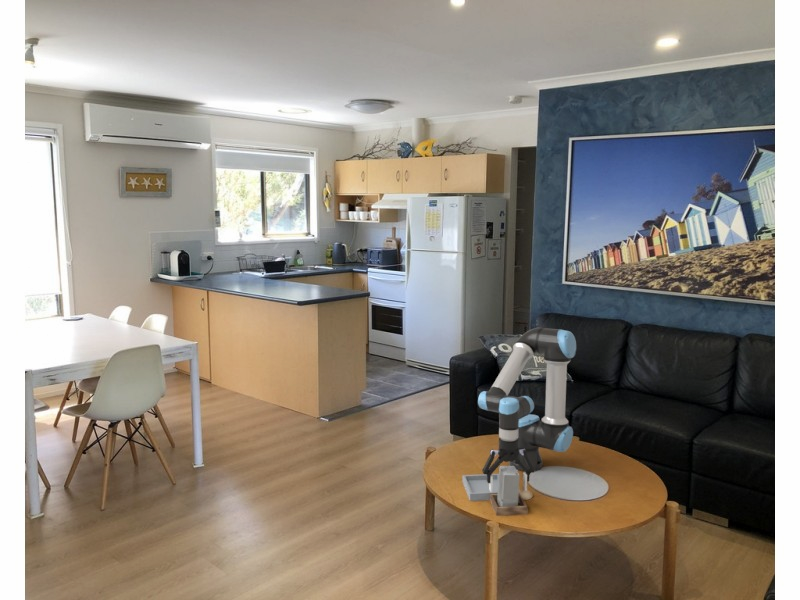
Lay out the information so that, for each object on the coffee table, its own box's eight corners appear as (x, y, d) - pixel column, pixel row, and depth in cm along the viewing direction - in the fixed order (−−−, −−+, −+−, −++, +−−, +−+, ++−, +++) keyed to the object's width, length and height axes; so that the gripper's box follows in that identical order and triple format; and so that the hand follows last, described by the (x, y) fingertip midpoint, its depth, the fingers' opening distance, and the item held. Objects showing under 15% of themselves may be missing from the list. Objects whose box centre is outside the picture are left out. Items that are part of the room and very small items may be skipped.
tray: (498, 480, 266) (498, 473, 265) (508, 499, 248) (508, 492, 248) (462, 481, 265) (462, 475, 264) (469, 500, 247) (469, 493, 247)
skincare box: (496, 503, 245) (496, 465, 243) (514, 502, 245) (514, 464, 243) (501, 513, 237) (502, 474, 234) (519, 512, 237) (520, 473, 235)
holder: (519, 499, 247) (519, 492, 247) (527, 514, 235) (527, 506, 235) (489, 501, 247) (489, 494, 246) (496, 515, 235) (496, 508, 234)
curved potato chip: (529, 489, 256) (529, 488, 256) (535, 499, 247) (535, 498, 247) (508, 490, 256) (508, 489, 256) (513, 500, 247) (513, 499, 247)
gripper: (537, 433, 242) (536, 484, 244) (475, 435, 240) (474, 486, 243) (543, 440, 234) (541, 492, 237) (478, 442, 233) (478, 495, 235)
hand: (507, 489), depth 240 cm, fingers open, 13 cm apart
